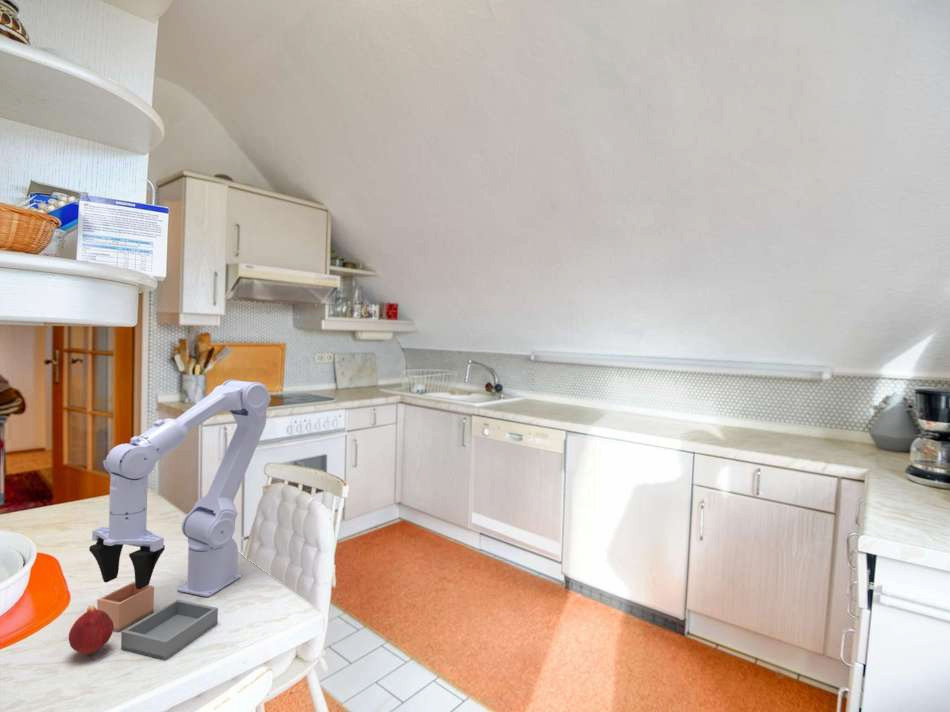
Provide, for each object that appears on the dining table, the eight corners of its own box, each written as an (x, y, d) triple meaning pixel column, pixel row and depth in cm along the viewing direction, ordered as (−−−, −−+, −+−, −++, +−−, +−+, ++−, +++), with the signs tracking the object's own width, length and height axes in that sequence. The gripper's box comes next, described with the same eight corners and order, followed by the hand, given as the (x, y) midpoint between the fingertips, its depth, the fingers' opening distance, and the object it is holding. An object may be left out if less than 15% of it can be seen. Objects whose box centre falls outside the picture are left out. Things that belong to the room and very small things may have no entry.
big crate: (177, 615, 95) (177, 599, 95) (217, 624, 92) (217, 607, 92) (121, 649, 84) (121, 631, 84) (165, 660, 81) (165, 642, 81)
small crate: (132, 607, 97) (133, 582, 96) (153, 612, 95) (154, 586, 95) (96, 627, 90) (97, 599, 90) (118, 632, 89) (119, 604, 88)
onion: (120, 643, 85) (121, 597, 85) (96, 665, 80) (97, 615, 79) (85, 643, 85) (86, 596, 85) (58, 664, 79) (59, 615, 79)
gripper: (76, 511, 90) (74, 586, 90) (139, 522, 86) (137, 600, 87) (113, 500, 97) (111, 570, 97) (174, 509, 93) (172, 582, 93)
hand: (126, 583), depth 92 cm, fingers open, 7 cm apart
